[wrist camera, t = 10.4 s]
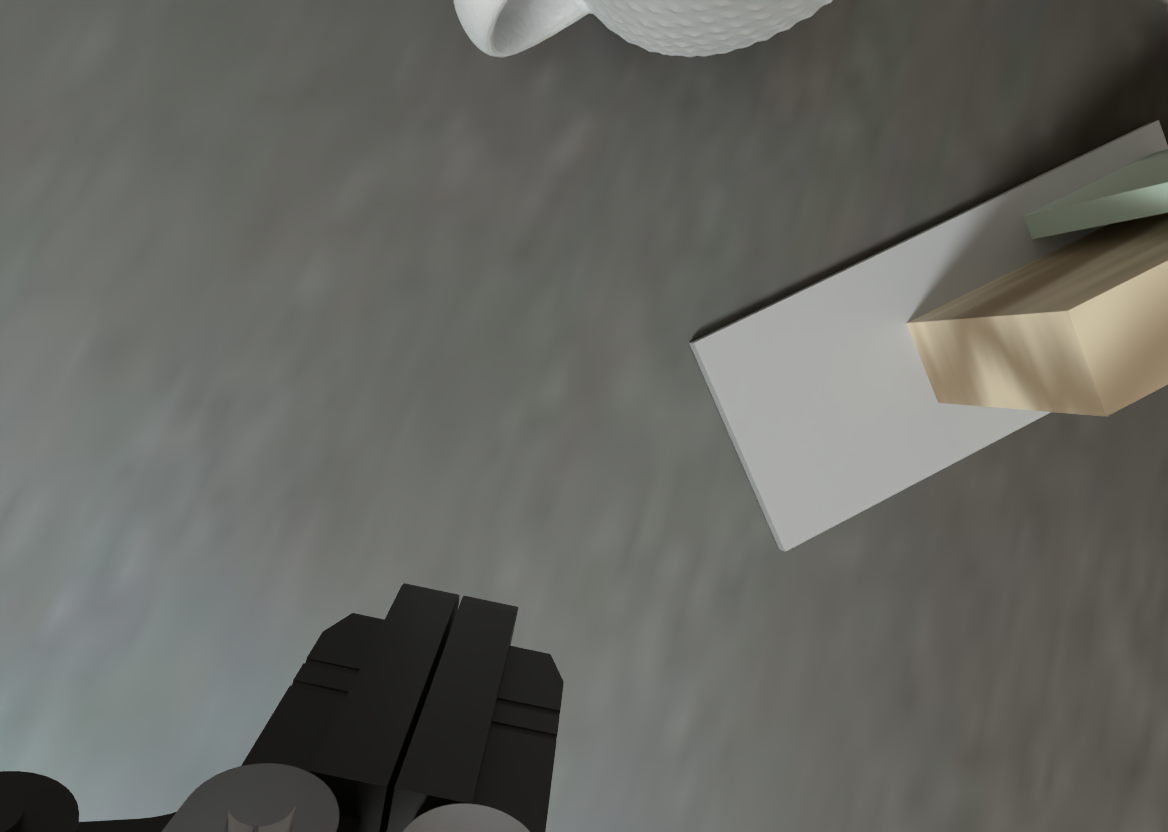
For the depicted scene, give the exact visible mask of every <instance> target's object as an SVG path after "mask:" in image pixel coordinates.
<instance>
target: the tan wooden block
mask: <svg viewBox="0 0 1168 832" xmlns="http://www.w3.org/2000/svg"><path fill="white" fill-rule="evenodd" d="M907 325H908V328H909V331H910V333H911V336H912V338H913V341H914V343H915V346H916V348H917V351H918V353H919V356H920V358H921V361H922V363H923V366H924V368H925V371H926V373H927V376H928V378H929V381H930V384H931V386H932V389H933V391H934V394H935V396H936V399H937V401H938V403H946V404H958V405H971V406H983V407H996V408H1008V409H1020V410H1033V411H1045V412H1058V413H1070V414H1082V415H1095V416H1108V415H1110V414H1112V413H1114V412H1116V411H1118V410H1120V409H1122V408H1124V407H1126V406H1127V405H1129V404H1131V403H1133V402H1135V401H1137V400H1139V399H1141V398H1143V397H1145V396H1146V395H1148V394H1150V393H1152V392H1154V391H1156V390H1158V389H1160V388H1162V387H1164V386H1165V385H1167V384H1168V213H1163V214H1158V215H1153V216H1148V217H1143V218H1138V219H1133V220H1128V221H1122V222H1117V223H1112V224H1108V225H1106V226H1104V227H1102V228H1100V229H1098V230H1096V231H1094V232H1092V233H1090V234H1088V235H1086V236H1083V237H1081V238H1079V239H1077V240H1075V241H1073V242H1071V243H1069V244H1067V245H1065V246H1063V247H1061V248H1059V249H1057V250H1055V251H1053V252H1051V253H1049V254H1047V255H1045V256H1043V257H1041V258H1039V259H1036V260H1034V261H1032V262H1030V263H1028V264H1026V265H1024V266H1022V267H1020V268H1018V269H1016V270H1014V271H1012V272H1010V273H1008V274H1006V275H1004V276H1002V277H1000V278H998V279H996V280H994V281H992V282H990V283H987V284H985V285H983V286H981V287H979V288H977V289H975V290H973V291H971V292H969V293H967V294H965V295H963V296H961V297H959V298H957V299H955V300H953V301H951V302H949V303H947V304H945V305H943V306H940V307H938V308H936V309H934V310H932V311H930V312H928V313H926V314H924V315H922V316H920V317H918V318H916V319H914V320H912V321H910V322H908V323H907Z"/></svg>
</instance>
